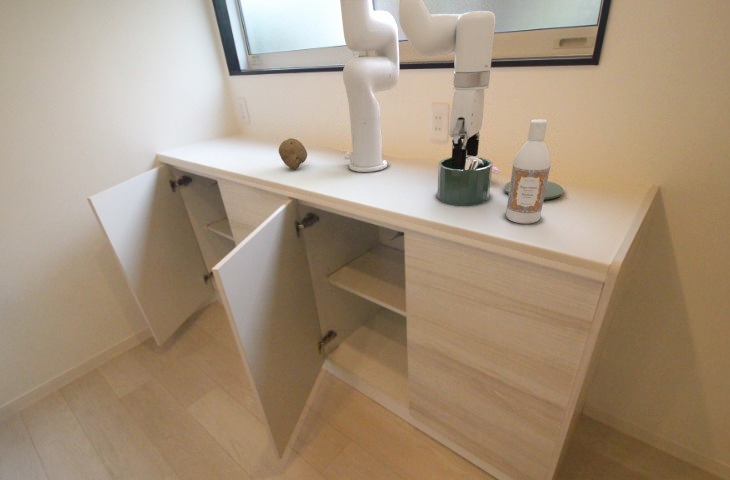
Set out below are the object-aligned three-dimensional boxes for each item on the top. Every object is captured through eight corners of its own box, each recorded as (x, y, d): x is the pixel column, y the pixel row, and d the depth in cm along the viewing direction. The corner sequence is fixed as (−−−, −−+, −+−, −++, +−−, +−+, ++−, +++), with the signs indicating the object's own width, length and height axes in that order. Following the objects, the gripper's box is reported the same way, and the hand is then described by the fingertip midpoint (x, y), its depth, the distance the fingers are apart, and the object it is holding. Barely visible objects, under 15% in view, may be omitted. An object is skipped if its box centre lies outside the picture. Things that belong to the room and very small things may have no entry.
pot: (429, 201, 91) (430, 167, 86) (447, 185, 100) (449, 154, 95) (480, 208, 85) (483, 172, 80) (494, 191, 94) (498, 158, 89)
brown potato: (302, 163, 129) (298, 134, 124) (313, 168, 123) (309, 138, 117) (278, 168, 125) (272, 139, 120) (288, 174, 119) (283, 143, 113)
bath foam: (504, 222, 77) (518, 124, 67) (506, 210, 83) (519, 117, 72) (539, 226, 75) (560, 124, 65) (539, 213, 80) (558, 117, 70)
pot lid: (498, 197, 90) (501, 171, 86) (510, 181, 100) (514, 156, 96) (558, 205, 83) (564, 176, 80) (565, 186, 93) (571, 160, 90)
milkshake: (448, 189, 92) (463, 152, 92) (467, 197, 92) (482, 160, 92) (453, 186, 87) (469, 147, 87) (473, 195, 88) (489, 156, 87)
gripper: (466, 77, 87) (461, 150, 96) (439, 85, 74) (436, 169, 83) (499, 76, 83) (490, 152, 92) (476, 85, 71) (468, 172, 80)
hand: (464, 160), depth 88 cm, fingers open, 9 cm apart
